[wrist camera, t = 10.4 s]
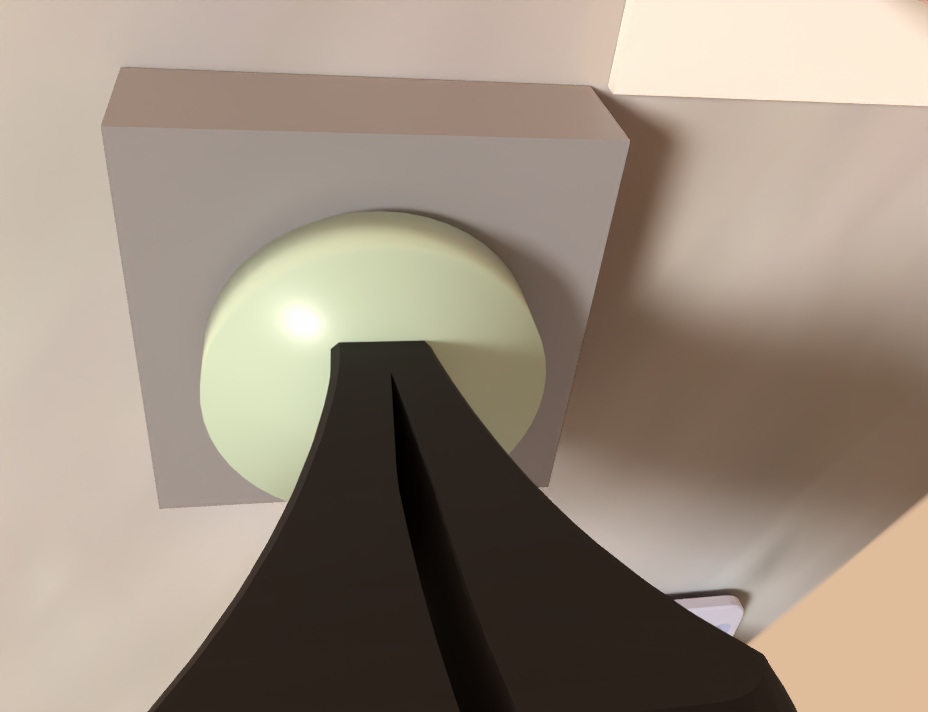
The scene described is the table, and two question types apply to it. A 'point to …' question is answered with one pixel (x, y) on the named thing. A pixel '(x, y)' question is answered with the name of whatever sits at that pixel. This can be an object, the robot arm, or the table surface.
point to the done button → (360, 333)
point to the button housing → (342, 192)
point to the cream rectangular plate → (775, 50)
